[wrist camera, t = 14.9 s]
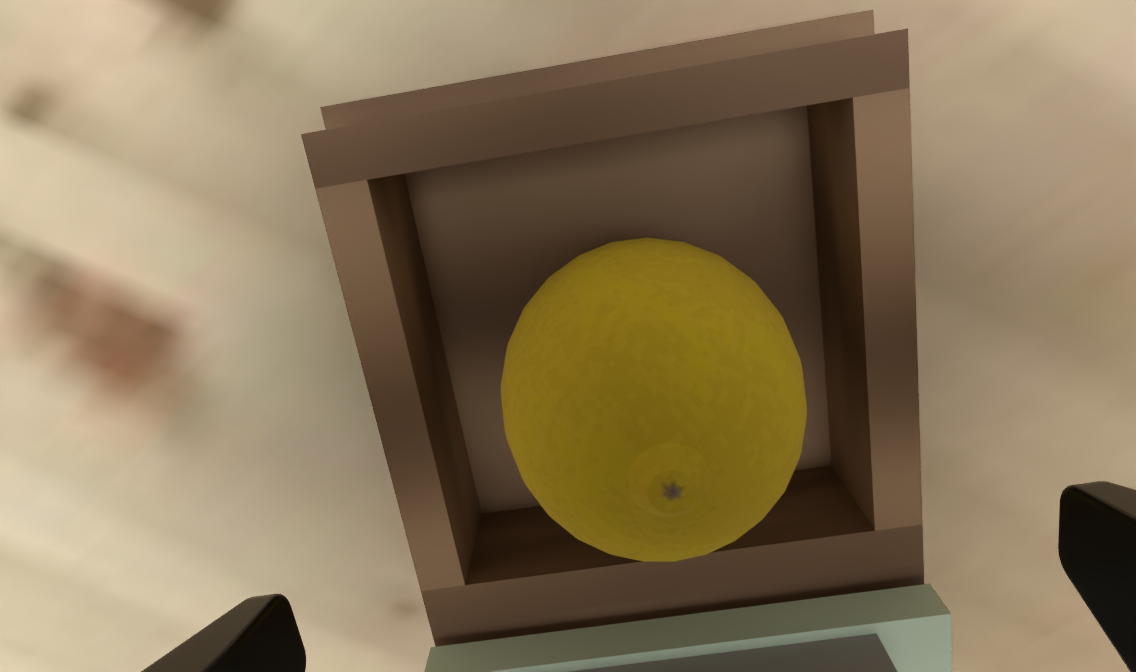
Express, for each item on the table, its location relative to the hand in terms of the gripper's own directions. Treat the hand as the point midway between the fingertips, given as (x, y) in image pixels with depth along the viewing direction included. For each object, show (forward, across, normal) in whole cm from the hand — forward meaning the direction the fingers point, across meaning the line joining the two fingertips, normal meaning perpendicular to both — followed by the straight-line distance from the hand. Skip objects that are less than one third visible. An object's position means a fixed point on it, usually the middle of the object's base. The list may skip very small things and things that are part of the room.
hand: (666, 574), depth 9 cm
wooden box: (+11, 0, +6) cm, 12 cm away
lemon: (+10, 0, 0) cm, 10 cm away
